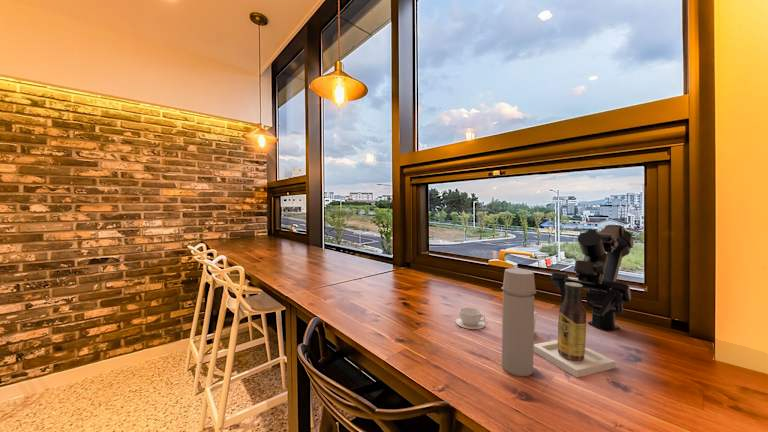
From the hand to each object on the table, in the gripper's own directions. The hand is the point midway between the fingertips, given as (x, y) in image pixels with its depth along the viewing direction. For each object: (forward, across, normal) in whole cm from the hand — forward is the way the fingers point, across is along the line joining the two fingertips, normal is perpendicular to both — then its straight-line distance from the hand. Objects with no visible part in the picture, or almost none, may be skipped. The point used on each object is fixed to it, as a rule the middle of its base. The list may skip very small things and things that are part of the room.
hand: (581, 310), depth 79 cm
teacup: (+15, -30, +2) cm, 34 cm away
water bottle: (+24, -7, -8) cm, 27 cm away
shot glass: (+9, -15, +8) cm, 19 cm away
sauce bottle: (+13, 0, +2) cm, 13 cm away
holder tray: (+14, 0, +3) cm, 14 cm away
